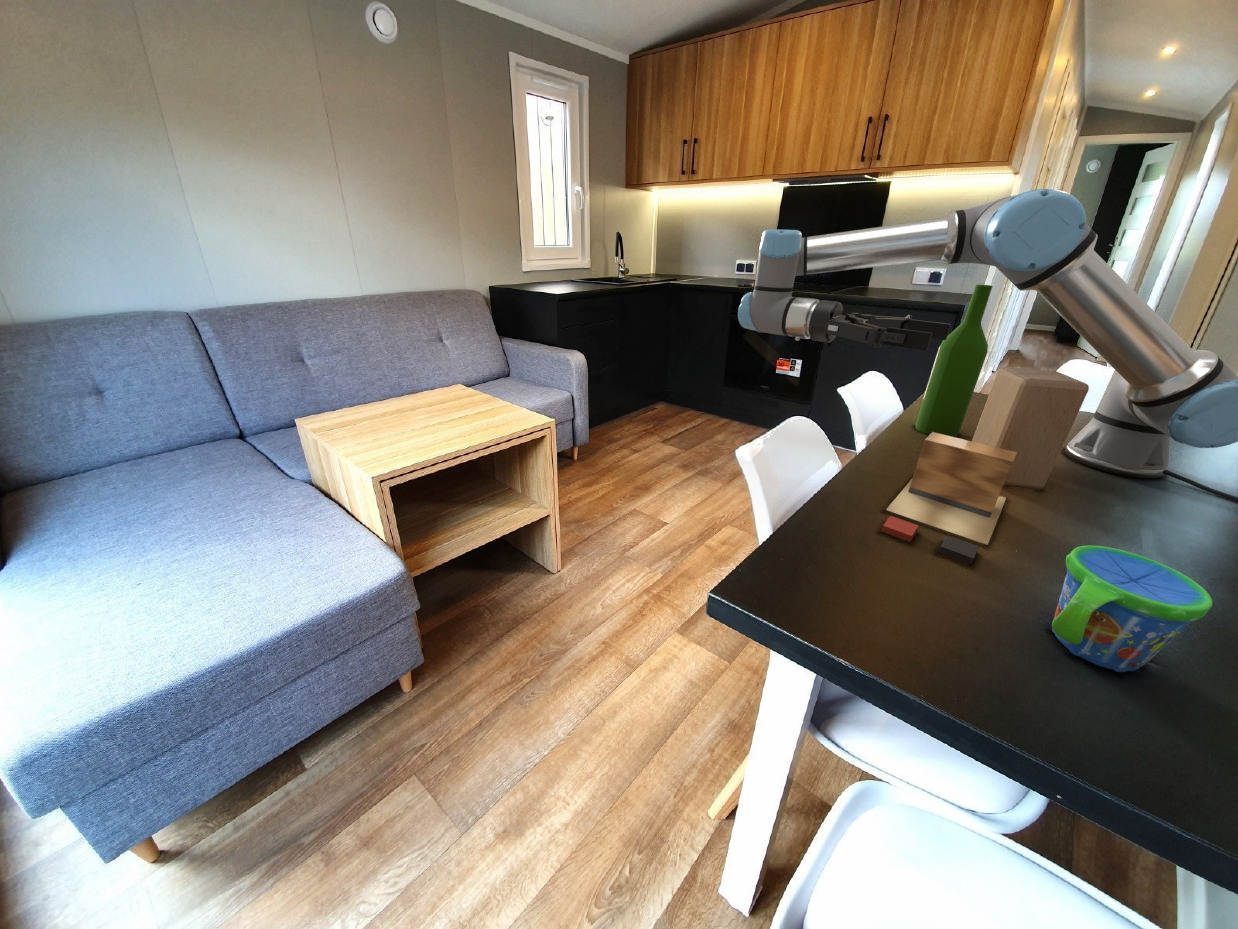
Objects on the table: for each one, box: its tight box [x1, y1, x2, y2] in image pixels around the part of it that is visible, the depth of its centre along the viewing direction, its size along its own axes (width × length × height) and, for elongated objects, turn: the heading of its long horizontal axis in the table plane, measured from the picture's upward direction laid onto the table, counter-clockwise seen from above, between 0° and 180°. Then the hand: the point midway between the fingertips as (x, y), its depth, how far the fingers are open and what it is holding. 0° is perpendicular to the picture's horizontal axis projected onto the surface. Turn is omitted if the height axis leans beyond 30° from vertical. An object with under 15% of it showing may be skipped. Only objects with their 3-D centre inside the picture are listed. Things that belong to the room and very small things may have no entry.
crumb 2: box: [938, 535, 980, 565], centre depth 69 cm, size 4×4×2 cm
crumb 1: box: [880, 515, 920, 543], centre depth 74 cm, size 4×4×2 cm
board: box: [886, 478, 1007, 545], centre depth 82 cm, size 14×20×1 cm
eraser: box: [908, 432, 1017, 518], centre depth 81 cm, size 12×5×10 cm, turn 48°
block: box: [971, 366, 1090, 490], centre depth 89 cm, size 10×10×20 cm
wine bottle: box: [914, 284, 993, 438], centre depth 109 cm, size 9×9×32 cm
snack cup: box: [1051, 545, 1213, 673], centre depth 52 cm, size 16×10×10 cm
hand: (939, 336), depth 82 cm, fingers open, 13 cm apart
